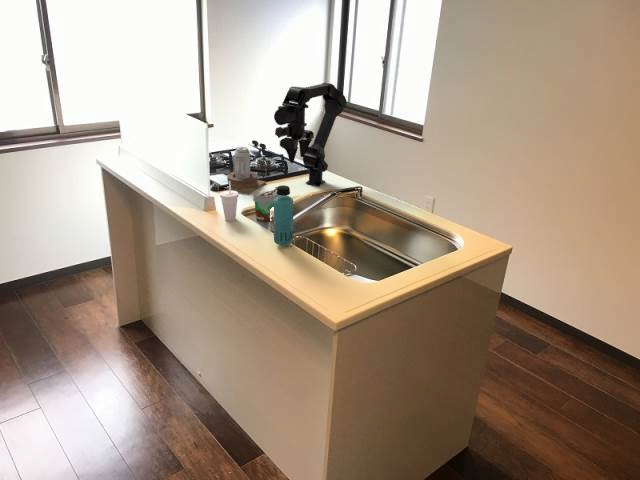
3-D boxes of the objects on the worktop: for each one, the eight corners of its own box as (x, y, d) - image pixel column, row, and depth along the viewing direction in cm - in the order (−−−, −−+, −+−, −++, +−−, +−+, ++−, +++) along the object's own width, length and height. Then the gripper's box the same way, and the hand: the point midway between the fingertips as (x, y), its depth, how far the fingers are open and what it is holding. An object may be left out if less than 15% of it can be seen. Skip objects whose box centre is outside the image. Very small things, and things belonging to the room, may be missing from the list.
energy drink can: (253, 183, 220) (252, 148, 213) (243, 187, 215) (242, 151, 209) (243, 180, 223) (241, 145, 216) (232, 183, 219) (231, 148, 212)
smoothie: (242, 217, 190) (241, 180, 184) (232, 223, 185) (231, 186, 179) (227, 213, 193) (226, 177, 187) (217, 220, 188) (215, 182, 181)
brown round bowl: (237, 178, 228) (236, 168, 226) (265, 183, 223) (265, 173, 221) (218, 188, 216) (218, 177, 214) (248, 194, 211) (248, 183, 209)
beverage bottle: (278, 251, 167) (277, 191, 158) (270, 242, 172) (269, 184, 164) (296, 247, 170) (297, 188, 161) (288, 239, 175) (288, 182, 166)
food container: (266, 226, 184) (266, 199, 180) (253, 221, 187) (252, 195, 183) (289, 215, 193) (289, 190, 189) (276, 211, 196) (276, 186, 192)
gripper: (289, 113, 215) (289, 151, 222) (267, 123, 199) (267, 163, 206) (314, 117, 211) (313, 155, 218) (293, 126, 195) (293, 167, 202)
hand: (296, 159), depth 211 cm, fingers open, 9 cm apart
